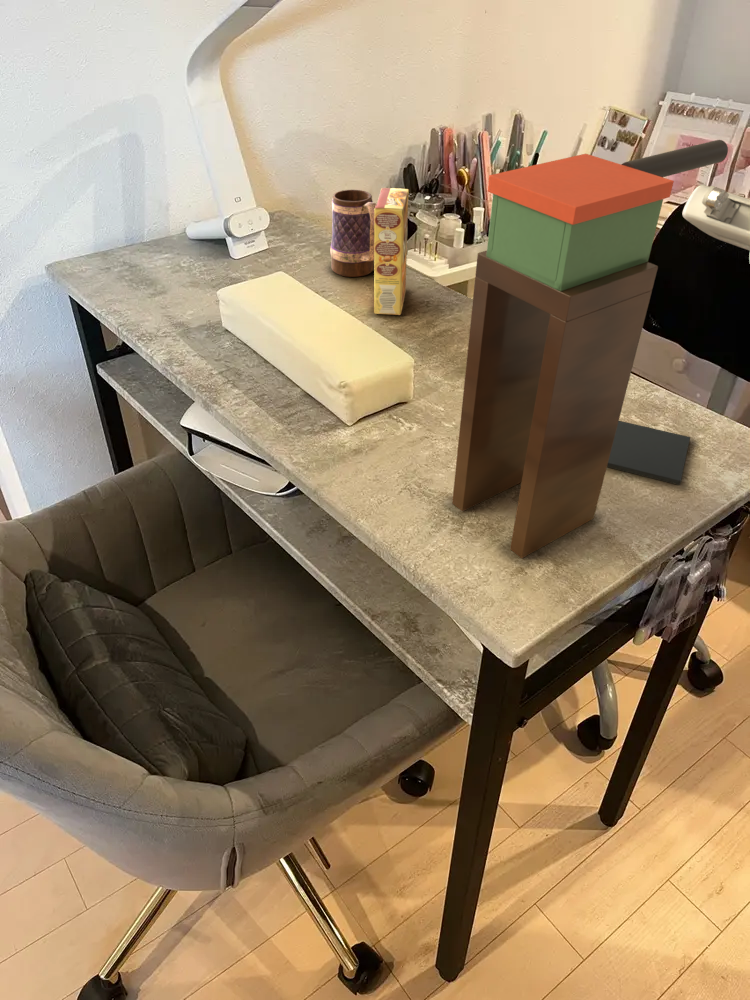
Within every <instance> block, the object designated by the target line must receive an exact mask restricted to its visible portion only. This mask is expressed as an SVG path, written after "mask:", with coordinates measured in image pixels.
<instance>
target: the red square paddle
mask: <svg viewBox="0 0 750 1000" xmlns="http://www.w3.org/2000/svg"><path fill="white" fill-rule="evenodd" d="M728 152H729V147H728V144H727V143H726V142H725V141H724V140H722V139H716V140H712V141H707V142H703V143H699V144H694V145H691V146H687V147H683V148H682V147H681V148H678V149H673V150H671V151H666V152H661V153H657V154H653V155H648V156H645V157H640V158H636V159H633V160H628V161H624V162H622V164H621V163H618V162H614V161H611V160H608V159H605V158H602V157H598V156H595V155H592V154H588V153H583V154H582V153H581V154H578V155H577V154H576V155H573V156H568V157H564V158H560V159H556V160H551V161H547V162H542V163H538V164H533V165H529V166H523V167H519V168H516V169H510V170H507V171H502V172H497V173H493V174H489V175H488V182H487V183H488V184H487V192H488V193H490V194H492V195H493V194H495V195H498V196H500V197H503V198H505V199H508V200H511V201H513V202H516V203H518V204H521V205H523V206H526V207H529V208H531V209H534V210H536V211H539V212H541V213H544V214H546V215H549V216H552V217H554V218H557V219H559V220H562V221H564V222H567V223H569V224H572V225H574V224H578V223H581V222H585V221H588V220H592V219H595V218H599V217H602V216H606V215H609V214H613V213H616V212H620V211H623V210H627V209H630V208H634V207H637V206H641V205H644V204H648V203H651V202H655V201H658V200H662V199H663V200H665V199H668V198H670V197H671V194H672V190H673V186H674V183H675V181H674V180H672V179H669V178H667V177H669V176H673V175H677V174H681V173H684V172H689V171H692V170H697V169H700V168H703V167H707V166H712V165H715V164H718V163H721V162H723V161H724V160H725V159H726V158H727V156H728V154H729V153H728Z"/></svg>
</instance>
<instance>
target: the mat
mask: <svg viewBox="0 0 750 1000" xmlns="http://www.w3.org/2000/svg"><path fill="white" fill-rule="evenodd" d="M690 442H691V437H690V436H688V435H683V434H678V433H675V432H670V431H667V430H661V429H656V428H653V427H648V426H644V425H640V424H635V423H631V422H626V421H622V420H619V421H618V425H617V429H616V433H615V437H614V441H613V445H612V449H611V453H610V457H609V460H608V464H607V468H609V469H614V470H618V471H621V472H625V473H629V474H633V475H637V476H642V477H646V478H649V479H654V480H656V481H657V480H658V481H662V482H665V483H669V484H674V485H677V486H681V482H682V478H683V473H684V469H685V466H686V465H685V464H686V459H687V455H688V452H689V451H688V449H689V446H690Z"/></svg>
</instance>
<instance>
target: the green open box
mask: <svg viewBox="0 0 750 1000" xmlns="http://www.w3.org/2000/svg"><path fill="white" fill-rule="evenodd" d="M491 200H492V201H491V209H490V210H491V211H490V218H489V227H488V236H487V246H486V251H487V254H486V257H488V258H490V259H492V260H495V261H497V262H499V263H501V264H503V265H505V266H507V267H510V268H512V269H514V270H516V271H518V272H520V273H522V274H524V275H527V276H529V277H531V278H533V279H535V280H537V281H539V282H542V283H544V284H546V285H548V286H550V287H552V288H554V289H556V290H559V291H563V290H566V289H569V288H572V287H575V286H578V285H581V284H584V283H586V282H589V281H592V280H595V279H598V278H601V277H604V276H607V275H610V274H613V273H616V272H619V271H622V270H625V269H628V268H631V267H633V266H636V265H639V264H642V263H645V262H649V259H650V255H651V251H652V246H653V243H654V239H655V235H656V231H657V226H658V222H659V218H660V214H661V210H662V206H663V203H664V199H662V200H658V201H655V202H651V203H648V204H644V205H641V206H637V207H634V208H630V209H627V210H623V211H620V212H616V213H613V214H609V215H606V216H602V217H599V218H595V219H592V220H588V221H585V222H581V223H578V224H574V225H572V224H569V223H567V222H564V221H562V220H559V219H557V218H554V217H552V216H549V215H546V214H544V213H541V212H539V211H536V210H534V209H531V208H529V207H526V206H523V205H521V204H518V203H516V202H513V201H511V200H508V199H505V198H503V197H500V196H498V195H495V194H493V193H492V199H491Z"/></svg>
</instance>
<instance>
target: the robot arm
mask: <svg viewBox="0 0 750 1000" xmlns="http://www.w3.org/2000/svg"><path fill="white" fill-rule="evenodd" d="M681 213H682V217H683V218H684V220H686V221H687V222H689V223H690V224H691V225H693V226H694V227H695V228H697V229H699V230H700V231H701V232H703V233H704V234H707V235H708V236H710V237H712V238H714V239H716V240H718V241H722V242H724V243H727V244H730V245H732V246H736V247H738V248H741V249H744V250H747V251H750V198H747V197H745V196H741V195H737V194H735V193H731V192H728V191H726V190H725V189H723V188H720V187H717V186H713V185H710V186H708V185H705V184H701V185H698V186H697V187H695V188H694V190H693V191H692V192H691V194H690V195H689V197H688V199H687V200H686V203H685V204H684V207H683V209H682V211H681ZM748 256H749V257H748V260H749V261H748V262H749V263H750V253H749V255H748Z"/></svg>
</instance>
